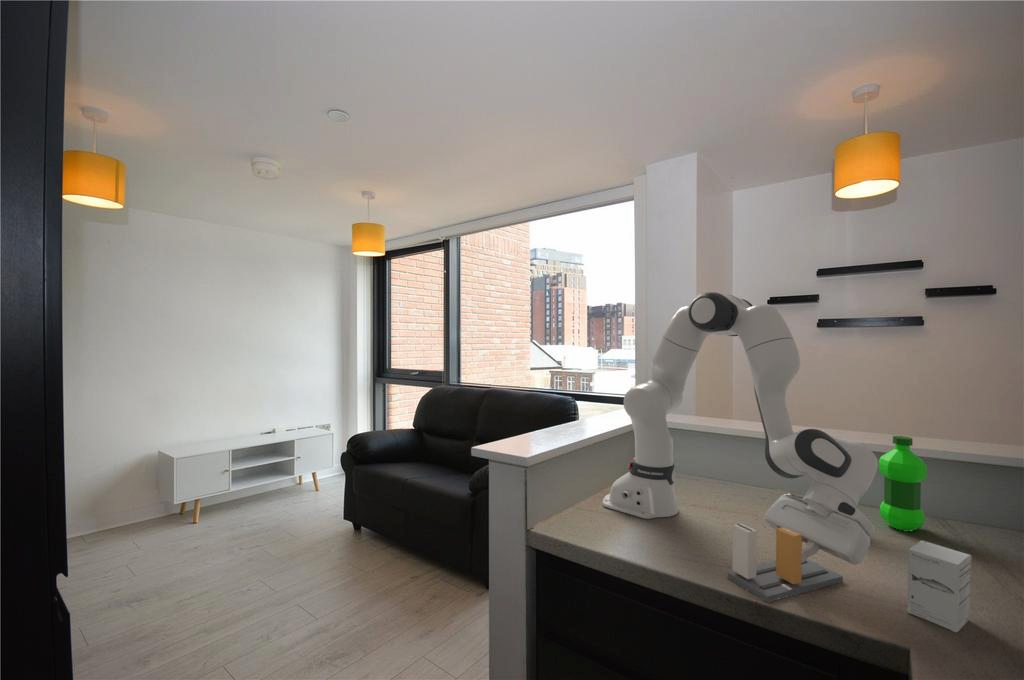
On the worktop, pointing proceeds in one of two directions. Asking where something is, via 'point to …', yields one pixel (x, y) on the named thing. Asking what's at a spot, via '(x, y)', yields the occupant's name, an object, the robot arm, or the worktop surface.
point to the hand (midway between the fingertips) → (794, 558)
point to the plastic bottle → (902, 486)
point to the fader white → (744, 550)
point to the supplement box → (939, 585)
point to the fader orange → (789, 555)
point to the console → (776, 587)
